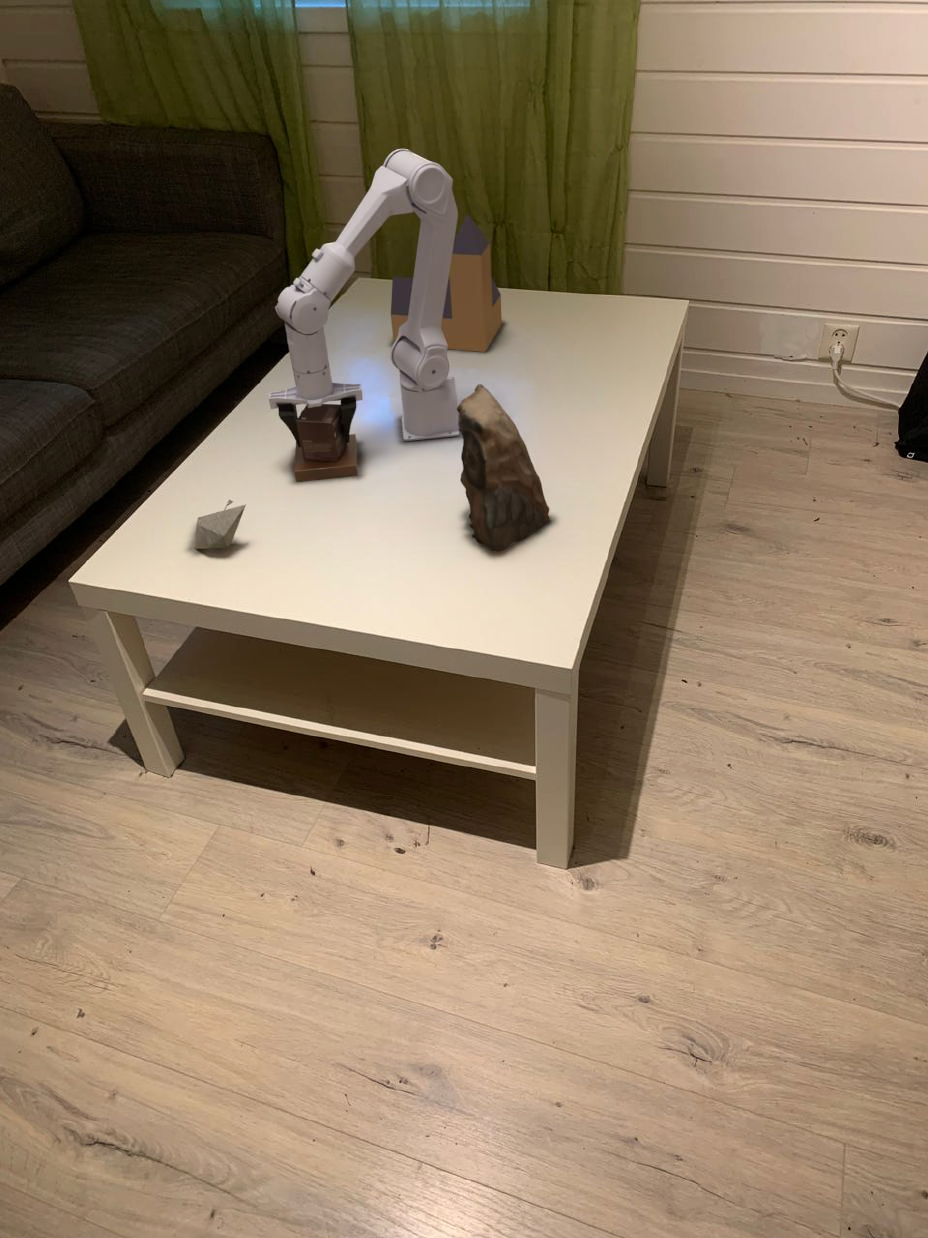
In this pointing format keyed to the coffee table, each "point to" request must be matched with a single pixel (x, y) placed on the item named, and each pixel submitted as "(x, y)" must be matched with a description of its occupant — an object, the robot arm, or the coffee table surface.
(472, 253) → the toy building blocks
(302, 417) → the box
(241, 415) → the coffee table surface
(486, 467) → the brown rock
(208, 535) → the paper boat
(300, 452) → the copper block
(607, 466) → the coffee table surface
